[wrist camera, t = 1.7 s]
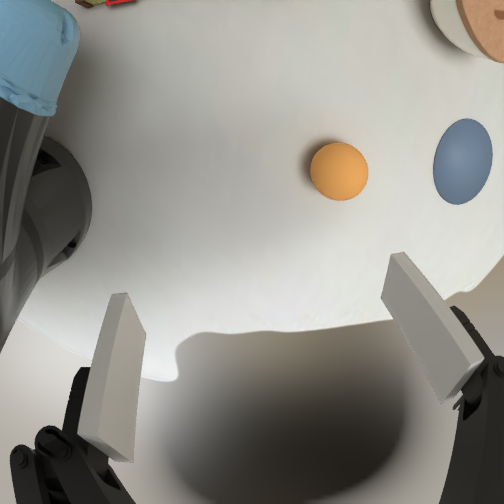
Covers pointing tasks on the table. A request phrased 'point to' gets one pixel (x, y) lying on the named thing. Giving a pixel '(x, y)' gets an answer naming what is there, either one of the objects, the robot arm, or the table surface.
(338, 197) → the ball
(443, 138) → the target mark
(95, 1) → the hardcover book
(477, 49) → the lidded jar
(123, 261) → the table surface
